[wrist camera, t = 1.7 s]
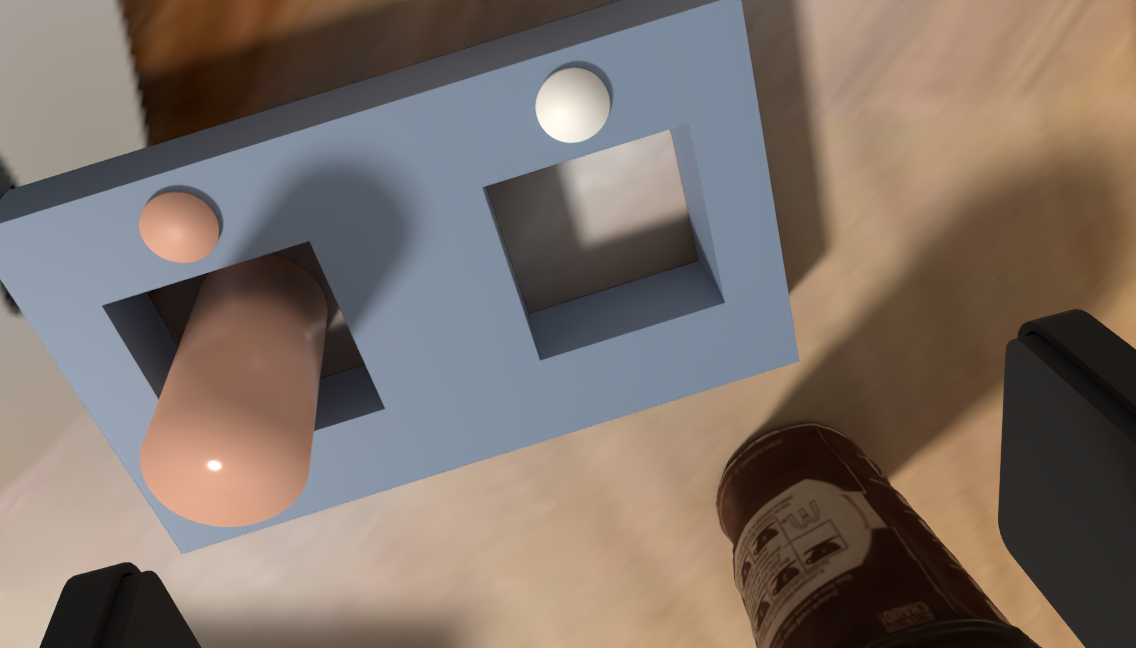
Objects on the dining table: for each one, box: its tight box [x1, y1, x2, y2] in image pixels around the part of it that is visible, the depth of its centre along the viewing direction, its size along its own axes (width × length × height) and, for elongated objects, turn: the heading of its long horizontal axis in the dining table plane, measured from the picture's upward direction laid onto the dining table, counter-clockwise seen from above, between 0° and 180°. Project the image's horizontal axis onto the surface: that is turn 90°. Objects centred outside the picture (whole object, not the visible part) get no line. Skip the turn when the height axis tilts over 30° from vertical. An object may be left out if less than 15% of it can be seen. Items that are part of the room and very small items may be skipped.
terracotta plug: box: [140, 254, 328, 527], centre depth 27 cm, size 4×4×8 cm
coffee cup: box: [716, 423, 1042, 648], centre depth 32 cm, size 9×8×13 cm
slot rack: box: [0, 0, 799, 554], centre depth 29 cm, size 21×12×3 cm, turn 105°
